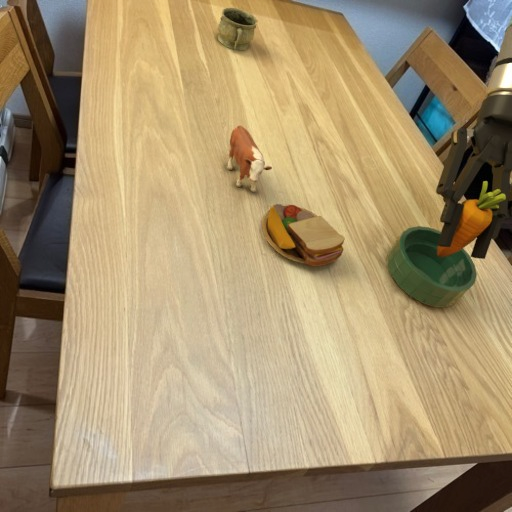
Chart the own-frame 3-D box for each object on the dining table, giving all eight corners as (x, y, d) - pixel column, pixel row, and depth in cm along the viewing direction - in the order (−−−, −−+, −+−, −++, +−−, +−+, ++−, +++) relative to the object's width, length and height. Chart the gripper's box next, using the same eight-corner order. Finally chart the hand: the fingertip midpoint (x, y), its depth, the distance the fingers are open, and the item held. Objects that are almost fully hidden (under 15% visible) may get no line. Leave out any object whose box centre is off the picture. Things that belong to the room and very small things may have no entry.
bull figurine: (238, 206, 81) (252, 168, 75) (220, 153, 89) (231, 116, 83) (262, 207, 83) (277, 170, 77) (243, 155, 91) (255, 118, 85)
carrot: (421, 241, 81) (477, 172, 70) (448, 248, 82) (507, 181, 71) (427, 264, 77) (487, 195, 67) (455, 271, 78) (518, 204, 68)
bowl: (453, 259, 89) (469, 241, 85) (463, 319, 79) (483, 301, 76) (384, 236, 87) (397, 216, 84) (386, 294, 78) (402, 275, 74)
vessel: (252, 58, 117) (260, 32, 112) (216, 49, 114) (223, 23, 110) (248, 34, 124) (255, 9, 120) (214, 26, 122) (220, 0, 117)
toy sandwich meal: (311, 207, 86) (321, 187, 83) (348, 267, 79) (361, 247, 76) (248, 213, 81) (256, 192, 77) (281, 277, 74) (292, 257, 70)
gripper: (546, 128, 78) (499, 268, 78) (443, 89, 76) (395, 233, 76) (582, 117, 70) (530, 272, 70) (469, 73, 68) (416, 233, 69)
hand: (460, 251), depth 73 cm, fingers closed on carrot, 5 cm apart
